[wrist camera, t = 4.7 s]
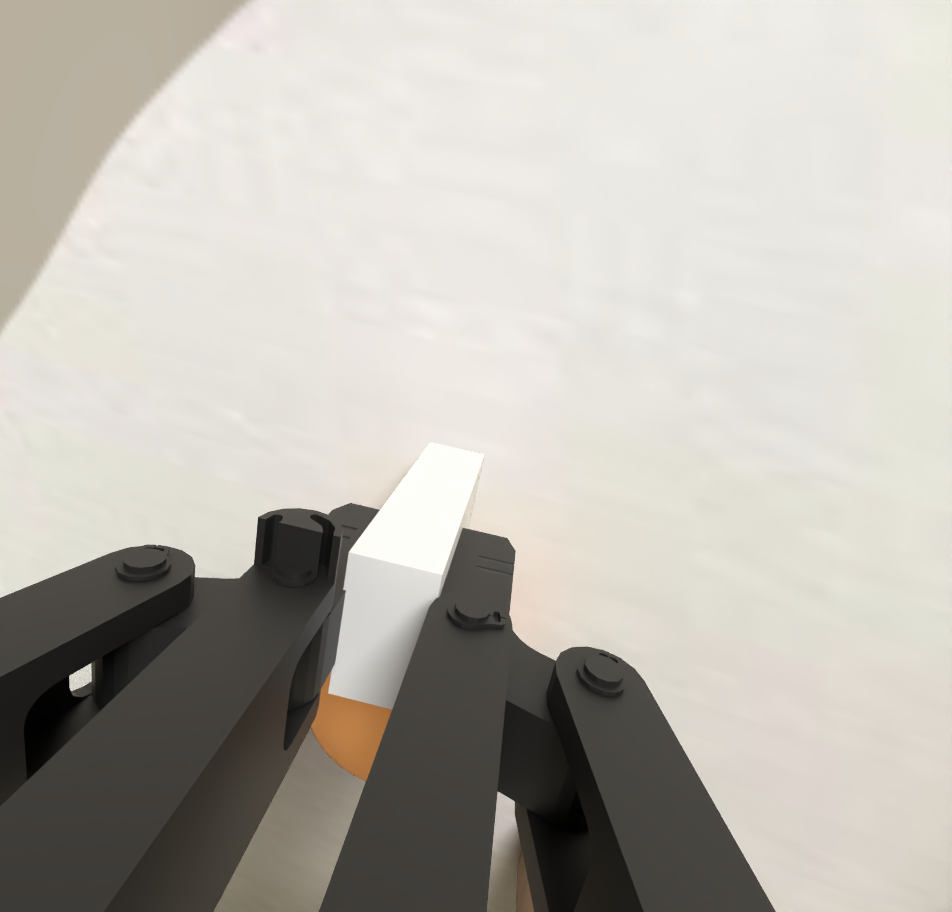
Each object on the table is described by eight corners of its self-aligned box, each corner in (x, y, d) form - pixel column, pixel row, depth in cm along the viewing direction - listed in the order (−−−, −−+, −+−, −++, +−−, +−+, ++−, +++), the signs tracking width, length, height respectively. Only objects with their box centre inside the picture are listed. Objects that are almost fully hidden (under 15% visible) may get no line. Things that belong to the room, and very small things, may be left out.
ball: (532, 575, 14) (510, 603, 19) (316, 531, 14) (352, 571, 19) (493, 834, 12) (479, 786, 17) (239, 778, 12) (303, 748, 17)
